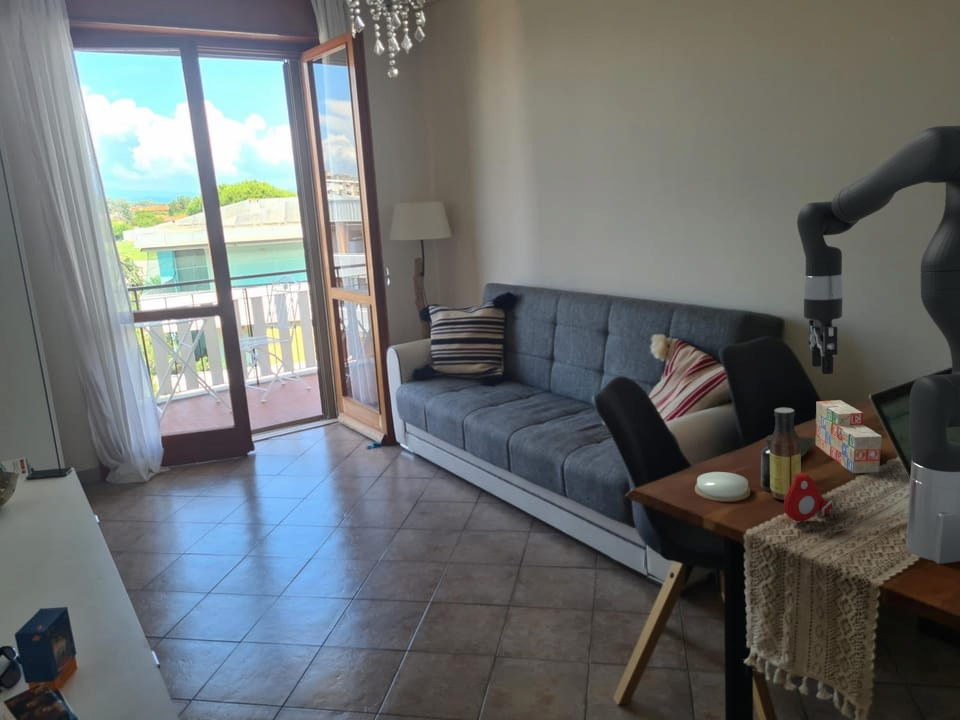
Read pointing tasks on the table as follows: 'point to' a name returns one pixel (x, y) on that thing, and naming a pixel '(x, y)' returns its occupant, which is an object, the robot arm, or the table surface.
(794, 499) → the tracker holder
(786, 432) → the sauce bottle
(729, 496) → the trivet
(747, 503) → the table surface
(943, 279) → the robot arm
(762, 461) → the supplement bottle
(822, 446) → the stack of blocks
